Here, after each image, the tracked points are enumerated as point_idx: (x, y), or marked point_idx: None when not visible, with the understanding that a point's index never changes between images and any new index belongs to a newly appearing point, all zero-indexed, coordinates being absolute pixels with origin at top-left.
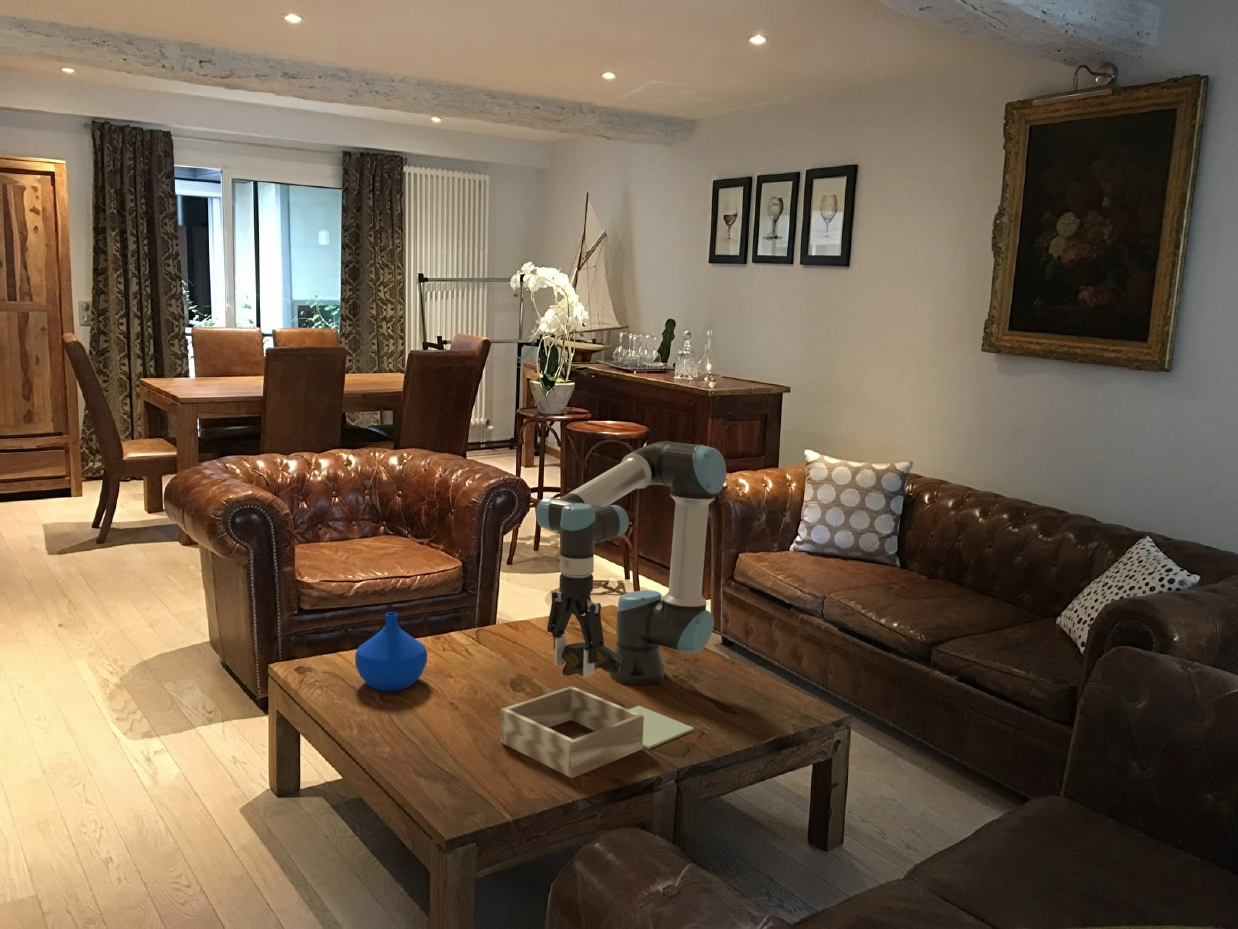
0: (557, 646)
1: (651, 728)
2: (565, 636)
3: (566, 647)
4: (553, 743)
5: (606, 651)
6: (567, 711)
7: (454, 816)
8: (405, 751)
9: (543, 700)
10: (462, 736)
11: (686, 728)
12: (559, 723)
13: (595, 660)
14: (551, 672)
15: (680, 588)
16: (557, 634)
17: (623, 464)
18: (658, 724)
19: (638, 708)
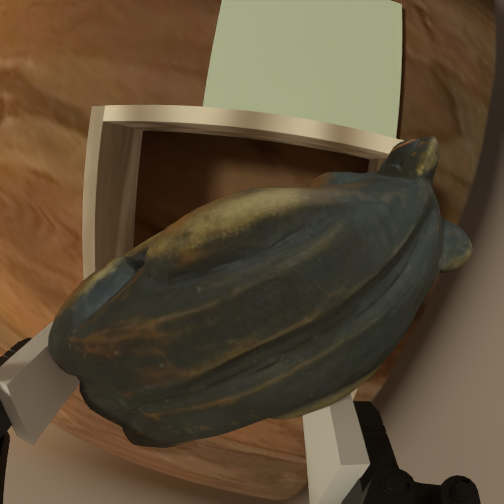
0: (56, 412)
1: (339, 49)
2: (4, 385)
3: (96, 411)
4: None
5: (412, 311)
6: (131, 139)
7: (265, 485)
8: (77, 410)
9: (98, 236)
10: None
11: (394, 13)
12: (138, 167)
13: (376, 417)
14: (6, 20)
15: None
16: (3, 443)
17: None
18: (336, 22)
19: None
